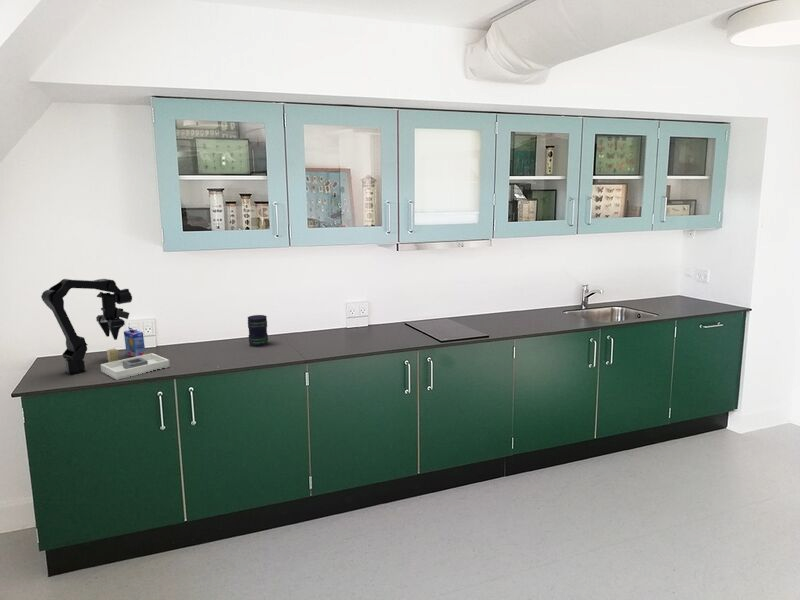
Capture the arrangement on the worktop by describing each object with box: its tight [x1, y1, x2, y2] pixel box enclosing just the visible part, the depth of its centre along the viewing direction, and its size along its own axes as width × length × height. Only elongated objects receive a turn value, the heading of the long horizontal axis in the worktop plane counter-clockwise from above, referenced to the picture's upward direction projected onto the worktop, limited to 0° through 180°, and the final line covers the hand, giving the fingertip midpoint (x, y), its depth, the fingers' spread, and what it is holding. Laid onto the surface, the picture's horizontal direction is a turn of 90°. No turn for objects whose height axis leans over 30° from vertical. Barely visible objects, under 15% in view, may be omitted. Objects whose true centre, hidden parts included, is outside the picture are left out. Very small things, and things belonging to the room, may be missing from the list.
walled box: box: [100, 352, 171, 381], centre depth 276 cm, size 24×17×4 cm
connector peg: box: [106, 348, 120, 363], centre depth 288 cm, size 4×4×6 cm
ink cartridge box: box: [123, 327, 147, 357], centre depth 297 cm, size 10×6×14 cm, turn 51°
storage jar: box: [247, 314, 269, 348], centre depth 315 cm, size 10×10×15 cm
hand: (111, 338), depth 286 cm, fingers open, 9 cm apart
